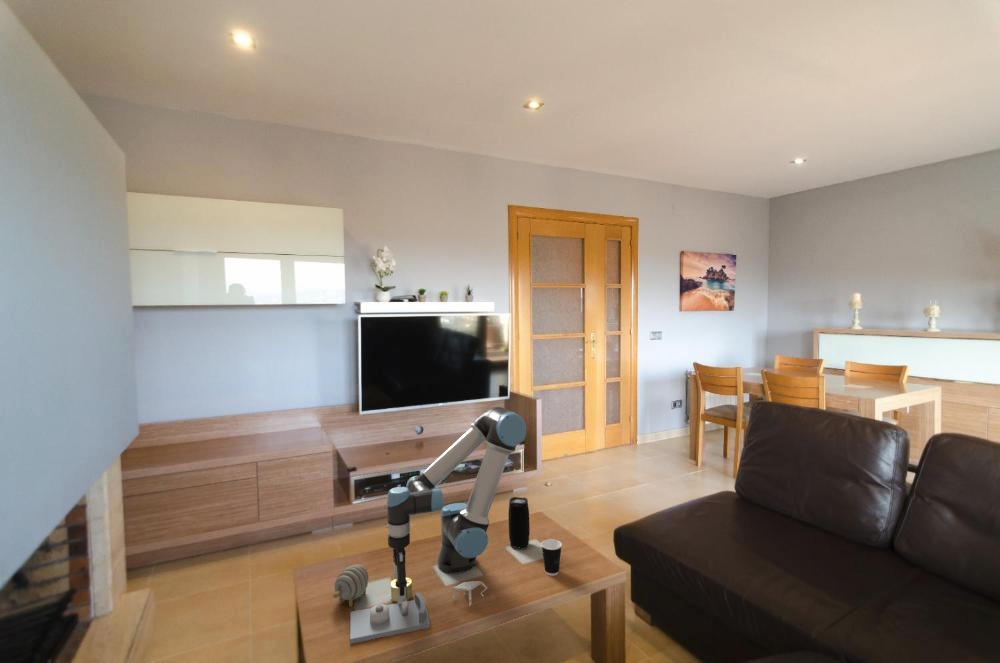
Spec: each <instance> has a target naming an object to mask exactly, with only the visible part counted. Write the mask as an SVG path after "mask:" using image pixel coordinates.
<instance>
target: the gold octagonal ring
mask: <svg viewBox="0 0 1000 663" xmlns="http://www.w3.org/2000/svg"><path fill="white" fill-rule="evenodd" d="M412 581H413V580H412V579H411V578H410V577H407V576H406V584H407V586H406V599H407V600H408V601H410V599H412V597H413V582H412ZM397 584H398V578H397V579H394V578H393V580H391V582H390V594H391V595H390V597H391V601H392V602H394V603H398V587H396V585H397Z"/></svg>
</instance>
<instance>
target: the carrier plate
mask: <svg viewBox="0 0 1000 663" xmlns="http://www.w3.org/2000/svg"><path fill="white" fill-rule="evenodd" d="M349 622H350V624H349V625H350V628H349V631H350V633H349V641H350V643H349V644H352V643H353V644H357V643H362V642H366V641H371V639H372V640H376V639H375V638H377V639H381V638H380V637H382V638H386V637H391V636H395V635H396V634H397V635H401V634H405V633H411V632H416V631H421V630H425V628H426V629H430V627H431V622H430V617H429V614H428V610H427V605H426V600H425V598H424V596H423V595H422V594H421V592H419V591H418V592H416V593H414V599H413V600H412V599H411V600H408V615H407V616H402V604H399V605H398V603H397V602H395V603H391V604H381V603H380V604H376V605H374V606H372V607H370V608H365V609H364V608H363V609H359V610H354V611H353V610H352V611H350V621H349ZM420 629H421V630H420ZM385 636H386V637H385Z"/></svg>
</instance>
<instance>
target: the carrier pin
mask: <svg viewBox="0 0 1000 663" xmlns="http://www.w3.org/2000/svg"><path fill="white" fill-rule="evenodd" d="M408 601H409V600H407V599H403V600H402V616H407V615H408Z"/></svg>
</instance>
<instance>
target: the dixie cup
mask: <svg viewBox="0 0 1000 663" xmlns="http://www.w3.org/2000/svg"><path fill="white" fill-rule="evenodd" d="M540 546H541V550H542V558H543V567H544V571H545V574H546V575H548V576H551V577H555V576H557V575H558V574H559V572H560V566H561V565H560V564H561V554H562V553H561V551H562V546H563V543H562V542H561V541H559V540H557V539H553V538H548V539H545V540H543V541H541V543H540Z"/></svg>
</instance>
